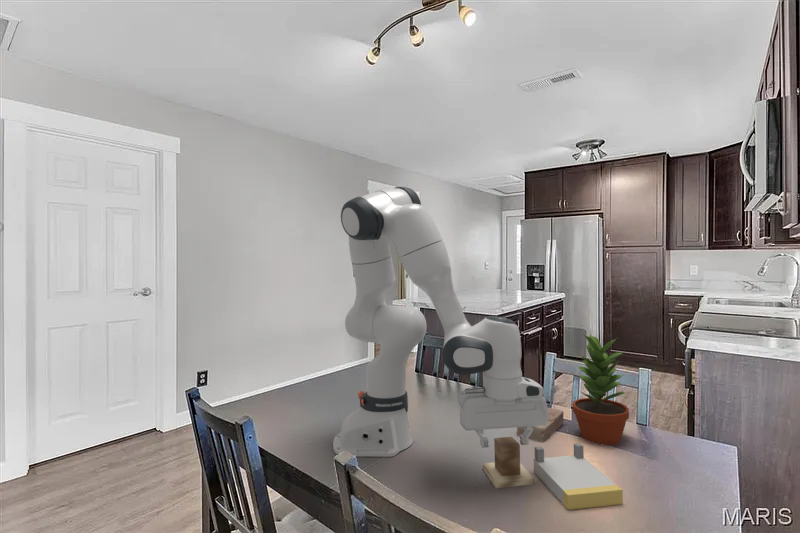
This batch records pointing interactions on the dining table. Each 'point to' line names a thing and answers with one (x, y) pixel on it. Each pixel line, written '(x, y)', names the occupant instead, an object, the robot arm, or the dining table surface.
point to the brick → (545, 426)
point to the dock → (576, 480)
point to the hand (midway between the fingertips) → (504, 445)
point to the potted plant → (600, 397)
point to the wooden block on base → (507, 465)
